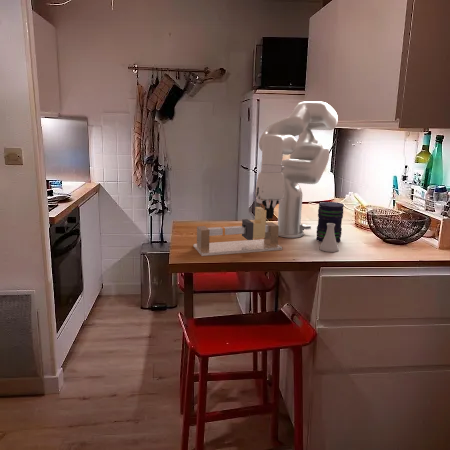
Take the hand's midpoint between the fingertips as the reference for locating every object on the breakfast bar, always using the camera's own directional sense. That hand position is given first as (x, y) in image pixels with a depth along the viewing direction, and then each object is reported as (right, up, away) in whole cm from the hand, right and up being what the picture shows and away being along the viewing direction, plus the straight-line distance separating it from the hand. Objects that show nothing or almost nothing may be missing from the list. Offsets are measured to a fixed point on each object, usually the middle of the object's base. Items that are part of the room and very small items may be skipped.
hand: (268, 217), depth 167 cm
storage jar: (+25, -9, +13) cm, 30 cm away
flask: (+23, -12, 0) cm, 26 cm away
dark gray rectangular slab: (-8, -7, -1) cm, 11 cm away
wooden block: (-5, -7, 0) cm, 9 cm away
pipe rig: (-12, -11, -1) cm, 16 cm away
